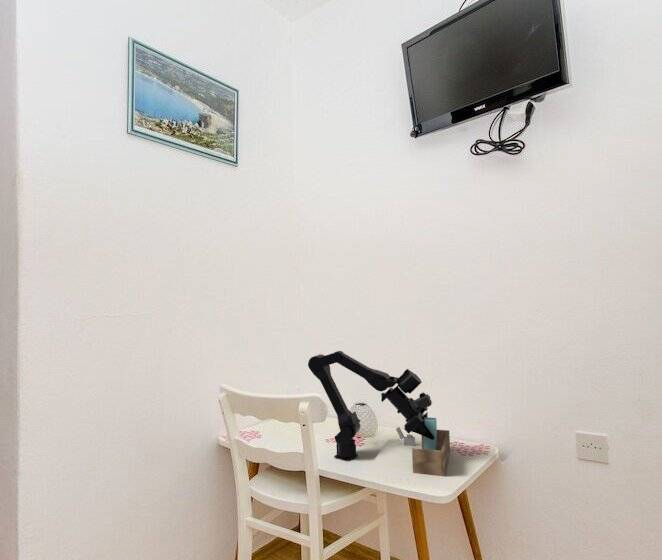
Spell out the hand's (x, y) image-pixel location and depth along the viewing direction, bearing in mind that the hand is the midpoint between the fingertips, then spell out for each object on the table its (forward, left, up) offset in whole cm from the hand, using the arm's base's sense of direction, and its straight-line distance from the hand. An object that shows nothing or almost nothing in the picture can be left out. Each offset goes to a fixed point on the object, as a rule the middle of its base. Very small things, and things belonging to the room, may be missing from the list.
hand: (434, 437), depth 144 cm
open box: (0, 0, -10) cm, 10 cm away
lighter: (-16, +10, -10) cm, 22 cm away
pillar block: (-1, 0, -5) cm, 5 cm away
